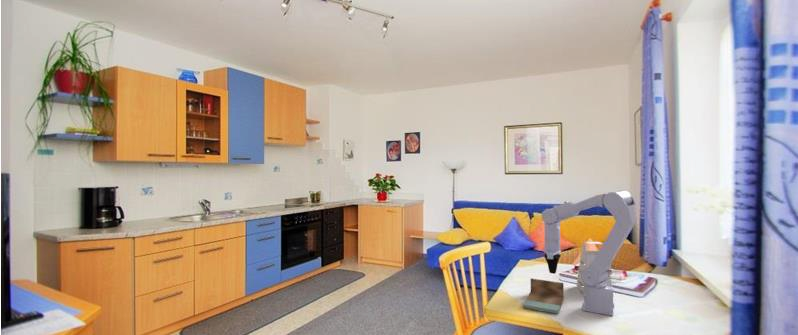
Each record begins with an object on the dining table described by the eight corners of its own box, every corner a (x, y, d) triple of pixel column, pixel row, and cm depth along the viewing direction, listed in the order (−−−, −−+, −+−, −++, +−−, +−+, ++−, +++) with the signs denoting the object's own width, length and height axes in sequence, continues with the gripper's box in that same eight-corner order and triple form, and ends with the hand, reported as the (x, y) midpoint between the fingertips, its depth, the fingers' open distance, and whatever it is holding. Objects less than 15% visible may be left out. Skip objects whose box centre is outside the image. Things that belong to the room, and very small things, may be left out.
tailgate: (560, 305, 131) (558, 310, 126) (560, 309, 131) (558, 314, 126) (525, 299, 137) (522, 304, 132) (525, 303, 137) (522, 308, 132)
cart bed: (563, 299, 140) (563, 282, 140) (560, 309, 131) (560, 291, 131) (531, 294, 146) (531, 278, 146) (526, 303, 137) (525, 286, 137)
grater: (576, 286, 155) (576, 239, 154) (602, 287, 153) (602, 240, 153) (585, 295, 144) (584, 245, 144) (613, 296, 143) (613, 245, 142)
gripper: (544, 234, 152) (544, 266, 152) (538, 241, 139) (539, 276, 139) (562, 236, 148) (563, 269, 148) (558, 243, 135) (558, 279, 136)
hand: (552, 272), depth 144 cm, fingers closed
